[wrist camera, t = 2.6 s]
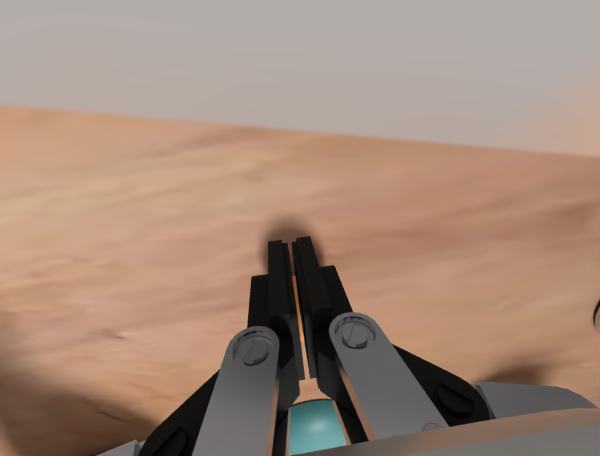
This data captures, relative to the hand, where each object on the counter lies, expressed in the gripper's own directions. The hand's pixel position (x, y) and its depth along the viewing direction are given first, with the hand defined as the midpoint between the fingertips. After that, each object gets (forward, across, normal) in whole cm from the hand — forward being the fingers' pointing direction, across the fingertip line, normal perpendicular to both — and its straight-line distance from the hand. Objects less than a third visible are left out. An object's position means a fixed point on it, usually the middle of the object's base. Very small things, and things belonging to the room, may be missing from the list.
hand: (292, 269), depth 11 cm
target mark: (+10, -1, +35) cm, 36 cm away
